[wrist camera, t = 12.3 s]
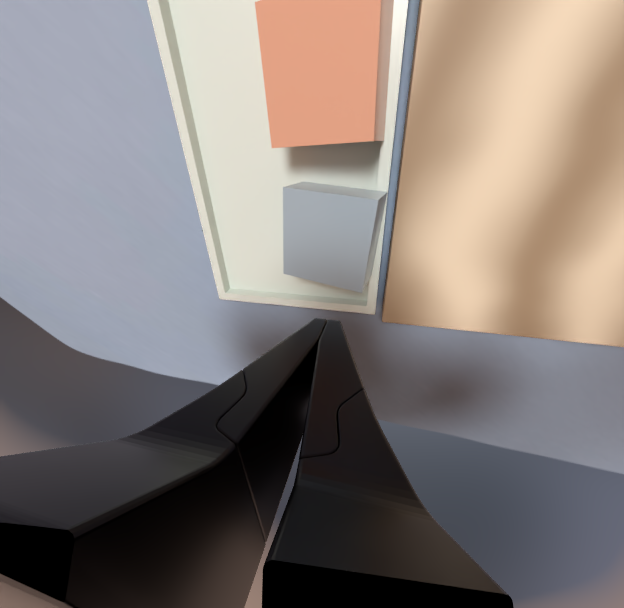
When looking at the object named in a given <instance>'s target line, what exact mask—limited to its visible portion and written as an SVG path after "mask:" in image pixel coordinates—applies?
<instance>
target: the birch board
mask: <svg viewBox="0 0 624 608" xmlns="http://www.w3.org/2000/svg"><path fill="white" fill-rule="evenodd" d="M382 322H389V323H399V324H408V325H418V326H428V327H437V328H447V329H456V330H466V331H476V332H485V333H495V334H504V335H514V336H523V337H533V338H543V339H552V340H562V341H571V342H581V343H590V344H600V345H610V346H619V347H624V0H420V2H419V11H418V19H417V27H416V35H415V44H414V52H413V60H412V68H411V76H410V85H409V93H408V101H407V109H406V118H405V126H404V134H403V142H402V150H401V159H400V167H399V175H398V183H397V192H396V200H395V208H394V216H393V224H392V233H391V241H390V249H389V257H388V266H387V274H386V282H385V290H384V298H383V308H382Z"/></svg>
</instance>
